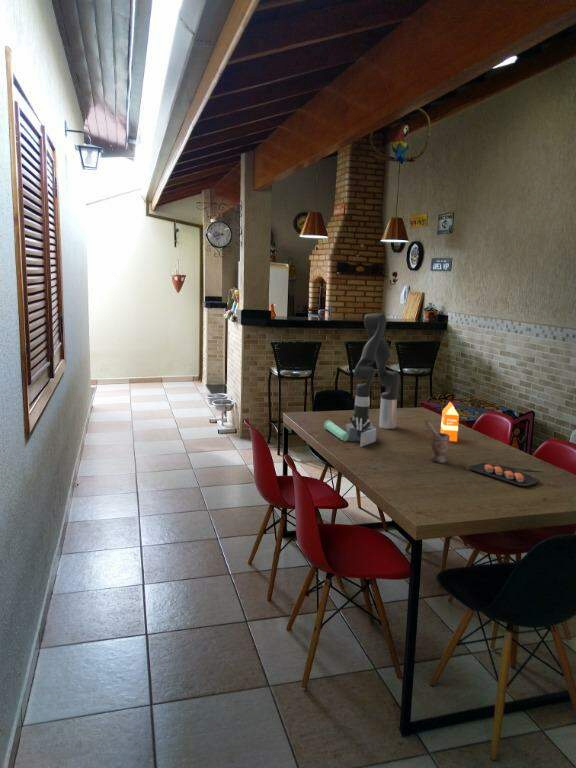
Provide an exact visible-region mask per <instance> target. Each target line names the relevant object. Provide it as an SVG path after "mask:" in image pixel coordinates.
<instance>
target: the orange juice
mask: <svg viewBox="0 0 576 768" xmlns="http://www.w3.org/2000/svg"><path fill="white" fill-rule="evenodd" d="M459 421H460V415H459V413H458V412H457V410H456V409H455V406H454V404H453V403H452V402H451V401H449V402H448V404H447V405H446V406H445V407H444V408H443V410H442V411H441V422H440V432H439V433H446V434H448V435H450V438H449V442H458V432H459Z"/></svg>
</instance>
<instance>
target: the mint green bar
mask: <svg viewBox="0 0 576 768" xmlns="http://www.w3.org/2000/svg"><path fill="white" fill-rule="evenodd" d="M323 428H324V429H325V430H326V431H329V432H330V433H331V434H333V435H334V436H335V437H337V438H338V439H339V438H340V440H341V441H342V440H343V441H342V442H347V441H349V440H348V439H349V435H348V433H347V432H346V430H344V429H342V428H340V427H339V425H336V424H335V423H334V422H333V421H332V420H326V421H325V422H324V423H323Z"/></svg>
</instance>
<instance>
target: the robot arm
mask: <svg viewBox="0 0 576 768" xmlns="http://www.w3.org/2000/svg"><path fill="white" fill-rule="evenodd" d="M363 322H364V323H363V324H364V328H365V331H366V334H367V336H368V338H369V340H368V341H367V342H365V345H364V346H363V349H362V353H361V357H360V359H359V361H358V363H357V364H356V366H355V368H354V370H353V376H354V377H355V379H356V380H363V381H366V382H365V383H358V384H357V385H356V387H355V388H356V391H355V397H354V398H355V399H354V411H353V412H354V413H353V416H351V417H350V418H349V420H350V422H351V424H353V426H354V428H356V429H357V436H358V437H361V433H363V430H366V429H367V428H368V427H369V426H370V425H371V424H372V425H373V420H370V417H369V416H370V415H369V414H370V404H371V401H370V400H371V398H370V396H371V388H372V383H373V381H374V378H375V375H376V370H377V374H378V381H379V384H380V386H382V387H385V388H386V387H388V388H390V389H389V390H388V391H384V392H382V393H381V396H380V407H379V422H378V427H379V428H381V429H388V430H389V429H390V430H391V429H397V416H398V411H397V404H398V403H397V401H398V395H399V385H400V373H399V372H398V371H391V370H388V369H386V366H387V364H388V362H389V361H390V359H391V350H390V346H389V344H388V342H387V341H386V340H385V338H383V335H384V334H385V333H384V332H385V330H386V328H387V317H386V314H385V313H366V314H365V316H364V318H363ZM374 362H375V364H376V368H377V369H375V368H374V367H373V366H372V365H373V364H374ZM365 423H367V424H366V425H365Z"/></svg>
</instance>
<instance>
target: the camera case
mask: <svg viewBox="0 0 576 768" xmlns="http://www.w3.org/2000/svg"><path fill="white" fill-rule="evenodd" d="M366 424H367V422H366V423H365V425H366ZM375 428H376V427H375V426H374V425H373V423H372V424H371V425H370V426H369V427H368V428H367V429H366V430H363V432H366V431H369V430H372V429H375ZM345 432H347V433H348V435H349V439H348V440H347V441H349V442H360V440H361V437H358V436H357V429H356V428H354V426H353V424H352V423H345Z"/></svg>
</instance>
